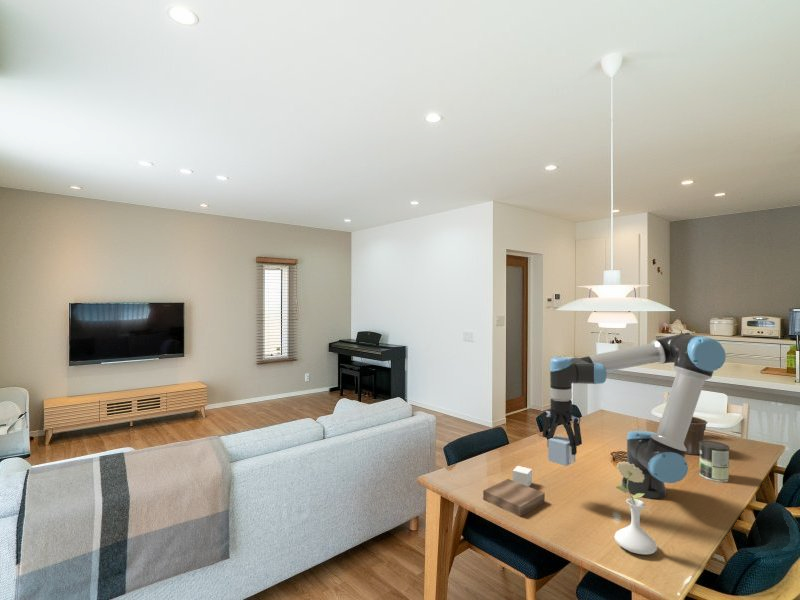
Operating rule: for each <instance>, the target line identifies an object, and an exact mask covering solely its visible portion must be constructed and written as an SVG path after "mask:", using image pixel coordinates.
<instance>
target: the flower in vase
mask: <svg viewBox="0 0 800 600" xmlns="http://www.w3.org/2000/svg"><path fill="white" fill-rule="evenodd" d="M616 469H617V470H618V472H619V473H620V475H621V476H624V477H625V478H628V480H627V489H626V488H625V487H623V486H622V484H621V485H620V484H619V485H617V486H616V487H615V488H616V489H618V490H620V491H622V492H623V493H625V494H626V493H628V494H629V496H630V498H627V499H626V500H625V502H626V503H627V504H628V506H629V509H630V516H631V519H630V520H631V521H630V524H628V525H627V526H625V527H622V528H620V529H619V530H617V531H616V532H615V534H614V540H615V542H616V543H617V544H618V545H619V546H620V547H621V548H623V549H625V550H627V551H629V552H630V553H633V554H637V555H638V554H639V555H646V556H647V555H653V554H654V553H656V552H657V550H658V544H657V543H656V541H655V540H654V539H653V538H652V537H651V535H649V533H647V532H646V531H645V530H643V529H642V527H641V523H640V521H641V520H640V519H641V513H642V509H643V508H644V507H645V506H646V503H645V502H644V501H642V500H640V499H639V498H641V497H642V496H643V495H644V494H645V493H644V494H642V493H638V494H633V496H632V493H630V492H629V490H628V481H629V480H630V481H633V482H638V483H639V482H643V480H644V479H645V477H644V475H643V474H642V471H641V470H640V469H639V468H636V467H635V465H634V464H630V463H629V462H627V461H619V462H617V465H616ZM642 498H643V497H642Z"/></svg>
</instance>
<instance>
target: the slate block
mask: <svg viewBox="0 0 800 600" xmlns="http://www.w3.org/2000/svg"><path fill="white" fill-rule="evenodd" d="M570 445H571V444H570V441H569V438H568V437H565V436H561V435H556V436H555V435H554V436H553V438H551V439H548V441H547V448H548V449H547V452H548V455H547V456H548V462H552V463H554V464H557V465H558V464H559V465H561V466H563V467H568V466H570V464H569V446H570ZM574 457H575V458H576V455H574Z"/></svg>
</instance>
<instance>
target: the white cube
mask: <svg viewBox="0 0 800 600" xmlns="http://www.w3.org/2000/svg"><path fill="white" fill-rule="evenodd" d="M512 480H513V481H515V482H518V483H520V484H523V485H525V486H528V487H531V485H532V483H533V469H532V468H528V467H524V466H521V465H516V467H515V468H514V469H513V470H512Z"/></svg>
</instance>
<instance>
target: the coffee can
mask: <svg viewBox="0 0 800 600" xmlns="http://www.w3.org/2000/svg"><path fill="white" fill-rule="evenodd" d="M699 444H700V454H699V467H698V468H699V470H698V471H699V472H698V473H699V474H698V475H699V476H700V477H702V478H704V479H706V480H707V481H708V480H709V481H712V482H719V483H726V482H729V480H730V475H729V472H730V469H729V467H730V466H729V465H730V464H729V463H730V461H729V460H730V446H729V445H728V444H725V443H723V442H720V441H716V440H708V439H706V440H705V439H703V441H700V442H699Z"/></svg>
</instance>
